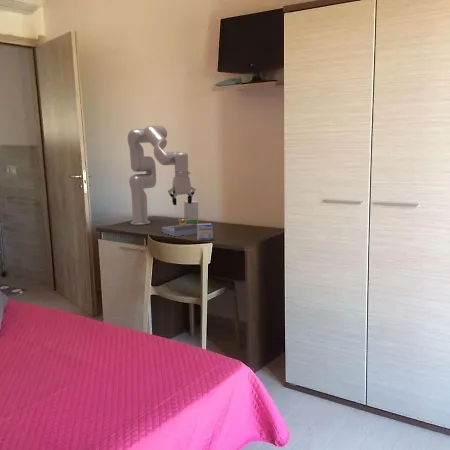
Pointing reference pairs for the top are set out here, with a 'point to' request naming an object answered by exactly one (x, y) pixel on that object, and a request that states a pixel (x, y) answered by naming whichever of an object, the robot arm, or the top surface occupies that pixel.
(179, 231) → the jig
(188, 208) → the skincare box
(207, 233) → the medicine box
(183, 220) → the bushing
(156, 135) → the robot arm
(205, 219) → the top surface
